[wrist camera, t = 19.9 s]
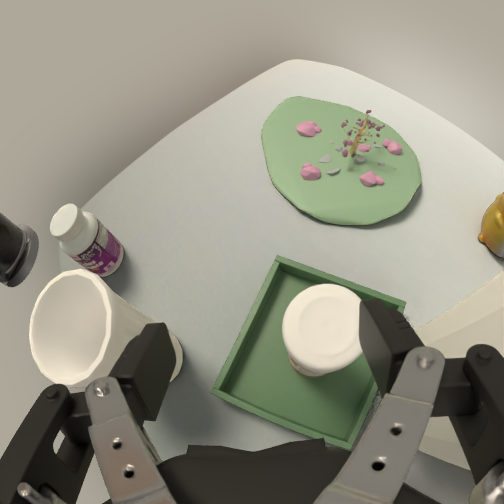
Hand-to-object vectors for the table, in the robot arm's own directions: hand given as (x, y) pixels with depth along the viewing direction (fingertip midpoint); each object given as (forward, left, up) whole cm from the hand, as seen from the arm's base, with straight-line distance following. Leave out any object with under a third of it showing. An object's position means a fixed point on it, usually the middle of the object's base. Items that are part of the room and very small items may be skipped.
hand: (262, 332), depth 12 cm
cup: (-5, +12, -17) cm, 21 cm away
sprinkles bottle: (+2, -2, -16) cm, 16 cm away
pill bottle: (+2, +24, -17) cm, 30 cm away
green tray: (+2, -2, -17) cm, 17 cm away
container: (+3, -17, -17) cm, 25 cm away
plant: (+27, +4, -17) cm, 32 cm away
